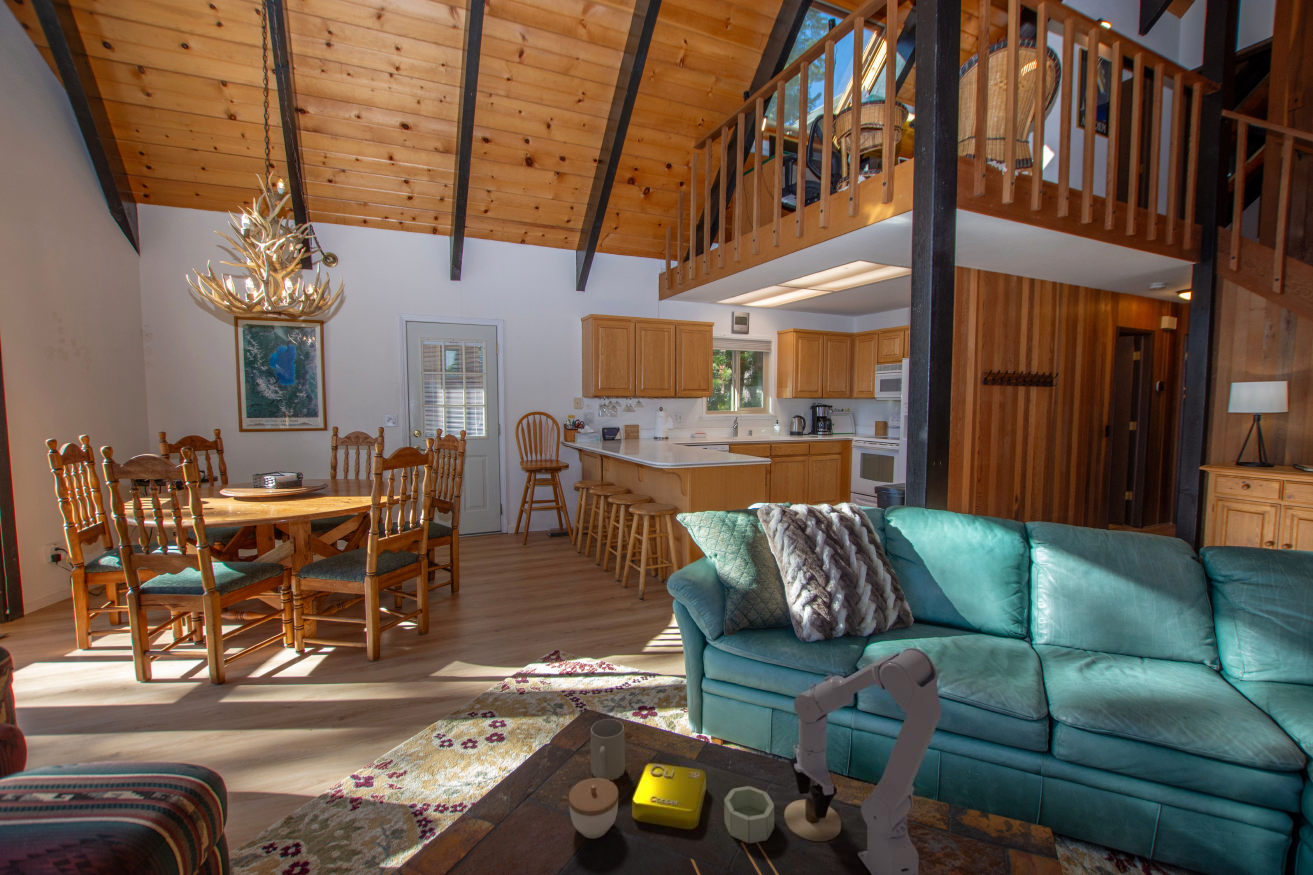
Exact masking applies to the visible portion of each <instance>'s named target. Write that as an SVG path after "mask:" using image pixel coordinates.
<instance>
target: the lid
mask: <svg viewBox="0 0 1313 875" xmlns="http://www.w3.org/2000/svg"><path fill="white" fill-rule="evenodd" d="M783 818H784V821H785V823H786V826H787V827H788V828H789V829H790V830H791V831H792V832H793V833H794V834H796V835H797V836H799V837H801V838H803V839H805V840H809V841H814V842H827V841H830V840H832V839H835V838H836V837H837V836H838V835H839V834H840V832H841V829H842V821H841V818H840V815H839V814H838V813H837V812H836V810H834V808H832V807H831V806H829V808H828V811H827V814H826V817H825V818H819V819H817V818H816V816H815V811H814V802H813V797H811V798H810V797H809V798H806V799H804V798H803V799H799V800H798V799H797V800H795V801H793V802H791V803H789V804H788V805H787V806H786V808H785V810H784V817H783Z"/></svg>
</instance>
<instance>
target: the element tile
mask: <svg viewBox="0 0 1313 875" xmlns="http://www.w3.org/2000/svg"><path fill="white" fill-rule="evenodd" d="M706 778H707V776H706V772H705V771H704V770H701V769H698V768H693V767H691V768H690V767H685V766H677V765H669V764H664V763H656V762H655V763H654V762H651V763H650V762H649V763H647V764H646V765H645V766H644V768H643V771H642V773H641V775H640V778H639V780H638V783H637V785H636V788H635V790H634V792H633V795H632V798H631V810H632V811H631V815H632V818H633V819H634V820H635V821H637V822H643V823H648V824H654V825H660V826H666V827H672V828H679V829H684V830H693V829H695V828H697V827H698V826H699V823H700V818H701V813H702V809H703V804H704V801H705V796H706V791H707V784H706V783H707V781H706Z"/></svg>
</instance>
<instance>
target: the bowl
mask: <svg viewBox="0 0 1313 875" xmlns="http://www.w3.org/2000/svg"><path fill="white" fill-rule="evenodd" d="M723 800H724V801H723V803H724V809H723V812H724V813H723V814H724V816H723V817H724V818H723V819H724V820H723V821H724V824H725V826H726V828H727V831H728V832H729V836H731V837H733V838H735V839H738V840H740V841H743V842H745V843H747V844H753V843H758V842H763V841H767V840H769V837H771V835H772V833H773V830H774V829H775V804H774V802H773V800H772V799H771V797H770V796H769V794H768V792H766V791H765V790H761V789H758V788H756V787H753V786H751V785H746V786H742V787H736V788H735V787H734V788H732V789H731V790H729V792H728V794H727V795H726V796H725V797H724V799H723Z"/></svg>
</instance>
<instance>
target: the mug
mask: <svg viewBox="0 0 1313 875" xmlns="http://www.w3.org/2000/svg"><path fill="white" fill-rule="evenodd" d="M625 740H626V739H625V726H624V723H623V722H621V721H620V720H617V719H614V718H606V719H600V720H598V721H596V722H594V723H593V724H592V726H591V728H590V763H591V764H590V771H591V774H593V775H592V776H593V778H595V777H596V778H604V779H607V780H609V781H610V780H611V781H615V780H618V779H620V778H621V777H622V776H623V775H624V773H625V771H626V754H625V752H626V749H625V748H626V747H625V745H626V744H625V742H626V741H625ZM620 776H621V777H620ZM614 779H615V780H614Z"/></svg>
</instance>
